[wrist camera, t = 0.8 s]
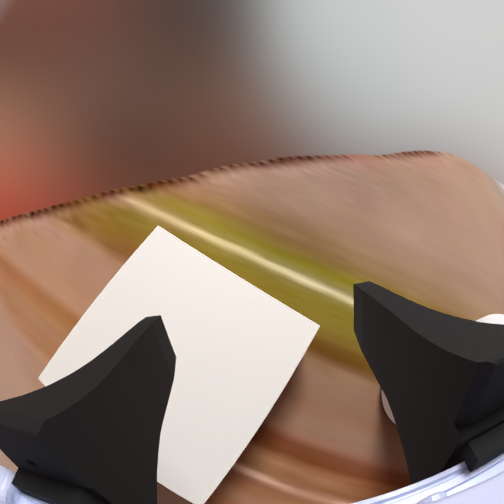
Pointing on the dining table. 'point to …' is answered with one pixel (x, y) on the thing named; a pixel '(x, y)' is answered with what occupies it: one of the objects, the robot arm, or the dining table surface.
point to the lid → (196, 354)
